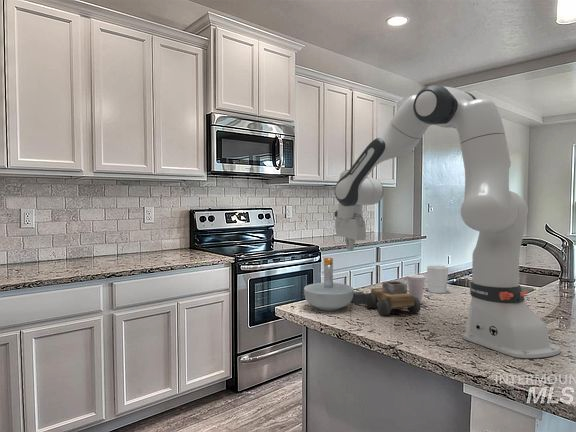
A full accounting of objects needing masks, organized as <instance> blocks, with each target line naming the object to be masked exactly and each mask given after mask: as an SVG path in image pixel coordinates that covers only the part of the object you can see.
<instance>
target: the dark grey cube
mask: <svg viewBox="0 0 576 432" xmlns="http://www.w3.org/2000/svg"><path fill="white" fill-rule="evenodd" d="M366 294H367V293H366V292H363V291H354V292H353V298H352V300H351V302H352V303H353V304H355V305H366V303H365V296H366ZM351 302H350V303H351Z"/></svg>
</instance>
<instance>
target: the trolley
mask: <svg viewBox="0 0 576 432" xmlns="http://www.w3.org/2000/svg"><path fill="white" fill-rule="evenodd" d="M381 284H382V287H376V288H374V287H373V288H371V289H370V290H371V291H370V292H368V293H367V292H366V293H365V294H366V296H365V303H366V304H365V306H366V307H367V309H376V308H377V311H378V313H379V315H380V316H389V315H390V314H391V312H392V310H394V309H407V310H408V312H409V313H411V314H414V313H419V312H420V311H421V307H422V306H421V304H420V301H419V299H418V298H417V297H414V296H413V295H410V294H409V293H408V283H406V282H405V283H404V282H402V281H399V280H391V281H382V283H381Z"/></svg>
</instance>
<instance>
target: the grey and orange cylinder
mask: <svg viewBox="0 0 576 432" xmlns="http://www.w3.org/2000/svg"><path fill="white" fill-rule="evenodd" d="M333 268H334V258H333V257H324V258H323V283H324V288H333V283H334V269H333Z"/></svg>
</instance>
